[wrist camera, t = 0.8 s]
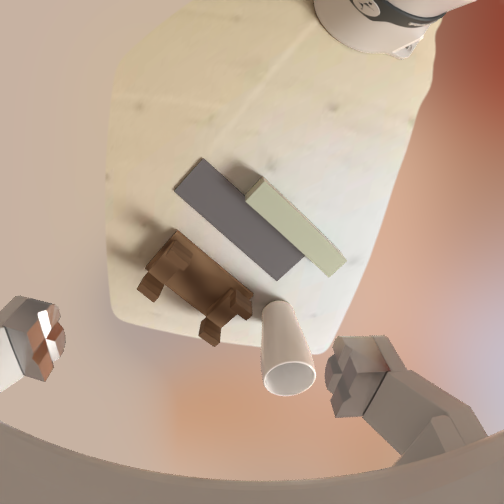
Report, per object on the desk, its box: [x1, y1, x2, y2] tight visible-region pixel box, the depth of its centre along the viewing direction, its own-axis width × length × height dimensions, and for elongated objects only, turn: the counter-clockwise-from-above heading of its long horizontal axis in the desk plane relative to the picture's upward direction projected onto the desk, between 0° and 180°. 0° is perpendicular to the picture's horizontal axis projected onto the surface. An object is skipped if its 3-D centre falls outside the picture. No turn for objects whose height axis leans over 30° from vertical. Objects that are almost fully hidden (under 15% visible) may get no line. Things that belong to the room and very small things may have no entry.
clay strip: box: [245, 177, 347, 277], centre depth 42 cm, size 16×4×4 cm, turn 47°
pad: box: [174, 158, 305, 281], centre depth 43 cm, size 6×20×1 cm, turn 46°
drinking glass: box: [261, 301, 316, 396], centre depth 42 cm, size 7×7×15 cm
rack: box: [137, 230, 253, 347], centre depth 43 cm, size 8×15×6 cm, turn 46°
